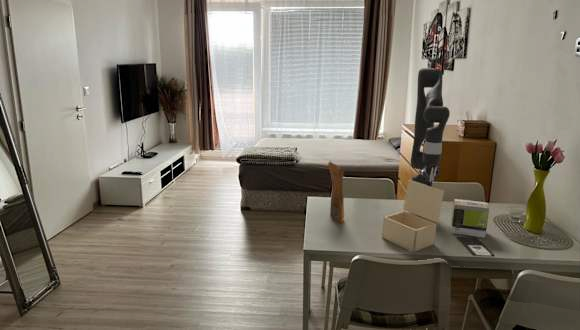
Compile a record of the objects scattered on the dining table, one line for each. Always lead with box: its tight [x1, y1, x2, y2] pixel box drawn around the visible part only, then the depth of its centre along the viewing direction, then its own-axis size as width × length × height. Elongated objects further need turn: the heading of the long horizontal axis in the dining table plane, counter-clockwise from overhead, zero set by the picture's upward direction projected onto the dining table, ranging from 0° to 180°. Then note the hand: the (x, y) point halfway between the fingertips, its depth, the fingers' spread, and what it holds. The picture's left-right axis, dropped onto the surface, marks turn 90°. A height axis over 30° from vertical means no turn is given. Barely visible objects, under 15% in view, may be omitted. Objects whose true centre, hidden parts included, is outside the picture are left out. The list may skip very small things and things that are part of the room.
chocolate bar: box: [456, 236, 495, 257], centre depth 189 cm, size 9×1×18 cm
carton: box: [381, 210, 437, 253], centre depth 191 cm, size 14×18×10 cm
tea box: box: [450, 198, 490, 239], centre depth 202 cm, size 15×10×15 cm, turn 71°
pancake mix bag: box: [327, 160, 345, 224], centre depth 214 cm, size 7×19×28 cm, turn 8°
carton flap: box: [402, 179, 445, 223], centre depth 192 cm, size 14×19×1 cm
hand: (428, 188), depth 193 cm, fingers closed
